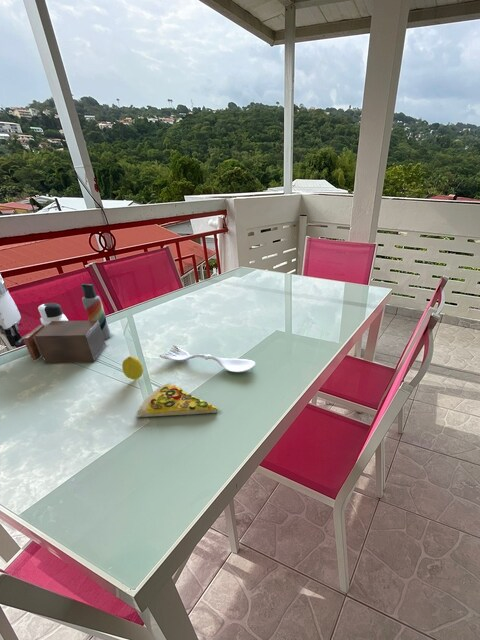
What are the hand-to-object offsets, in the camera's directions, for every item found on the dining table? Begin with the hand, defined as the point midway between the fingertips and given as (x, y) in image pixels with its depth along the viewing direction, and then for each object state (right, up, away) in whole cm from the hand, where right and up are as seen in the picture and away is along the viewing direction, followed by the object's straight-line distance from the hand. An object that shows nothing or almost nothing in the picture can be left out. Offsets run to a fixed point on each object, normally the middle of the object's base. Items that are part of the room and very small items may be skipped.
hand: (17, 345), depth 109 cm
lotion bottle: (+18, +6, +17) cm, 26 cm away
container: (+5, +4, +14) cm, 15 cm away
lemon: (+42, -12, -7) cm, 44 cm away
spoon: (+63, -6, +4) cm, 63 cm away
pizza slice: (+61, -20, -17) cm, 66 cm away
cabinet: (+17, -2, +5) cm, 17 cm away
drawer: (+10, -2, +3) cm, 11 cm away
